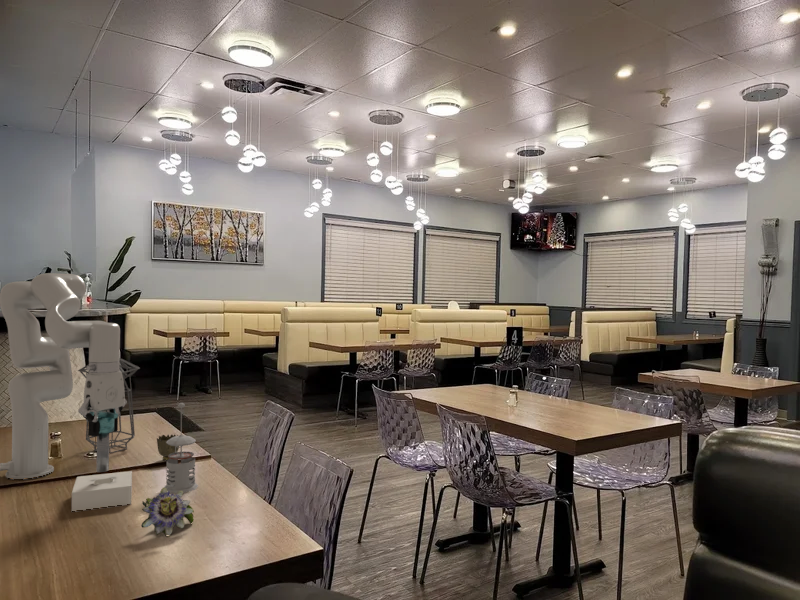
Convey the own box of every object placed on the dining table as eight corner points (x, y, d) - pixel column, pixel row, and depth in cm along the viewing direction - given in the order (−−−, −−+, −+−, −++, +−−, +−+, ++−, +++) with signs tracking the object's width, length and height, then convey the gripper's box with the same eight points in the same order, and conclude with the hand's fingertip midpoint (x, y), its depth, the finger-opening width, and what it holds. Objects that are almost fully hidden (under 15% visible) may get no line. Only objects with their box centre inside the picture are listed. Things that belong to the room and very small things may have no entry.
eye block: (71, 511, 149) (71, 492, 149) (76, 494, 162) (77, 476, 161) (131, 504, 155) (131, 485, 154) (131, 488, 167) (131, 471, 167)
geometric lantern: (143, 448, 209) (142, 353, 208) (100, 460, 196) (100, 358, 194) (118, 441, 218) (117, 349, 216) (76, 452, 204) (75, 354, 203)
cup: (174, 463, 192) (174, 439, 192) (152, 463, 192) (152, 439, 192) (183, 457, 199) (183, 434, 199) (162, 456, 199) (162, 433, 199)
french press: (164, 495, 162) (165, 407, 161) (160, 483, 172) (161, 400, 172) (200, 490, 166) (201, 404, 166) (195, 478, 176) (195, 397, 176)
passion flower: (168, 558, 135) (140, 527, 129) (152, 535, 143) (125, 505, 137) (208, 523, 141) (184, 491, 135) (190, 502, 149) (167, 472, 142)
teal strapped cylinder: (123, 470, 159) (124, 411, 159) (106, 475, 154) (107, 415, 154) (98, 465, 162) (99, 408, 162) (81, 471, 157) (82, 412, 157)
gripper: (87, 372, 148) (86, 442, 149) (139, 365, 164) (137, 428, 165) (66, 370, 151) (65, 439, 151) (119, 363, 167) (118, 425, 167)
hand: (103, 432), depth 158 cm, fingers closed on teal strapped cylinder, 5 cm apart
